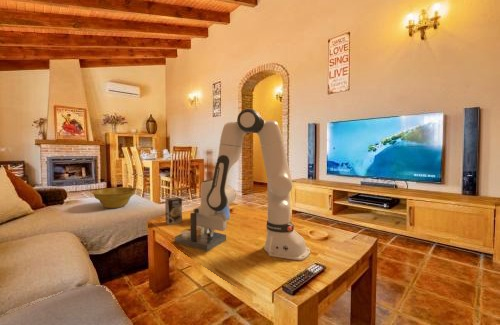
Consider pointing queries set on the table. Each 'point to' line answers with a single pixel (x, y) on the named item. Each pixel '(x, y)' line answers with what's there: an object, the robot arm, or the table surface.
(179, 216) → the coffee box
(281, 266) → the table surface
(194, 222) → the cord post left
